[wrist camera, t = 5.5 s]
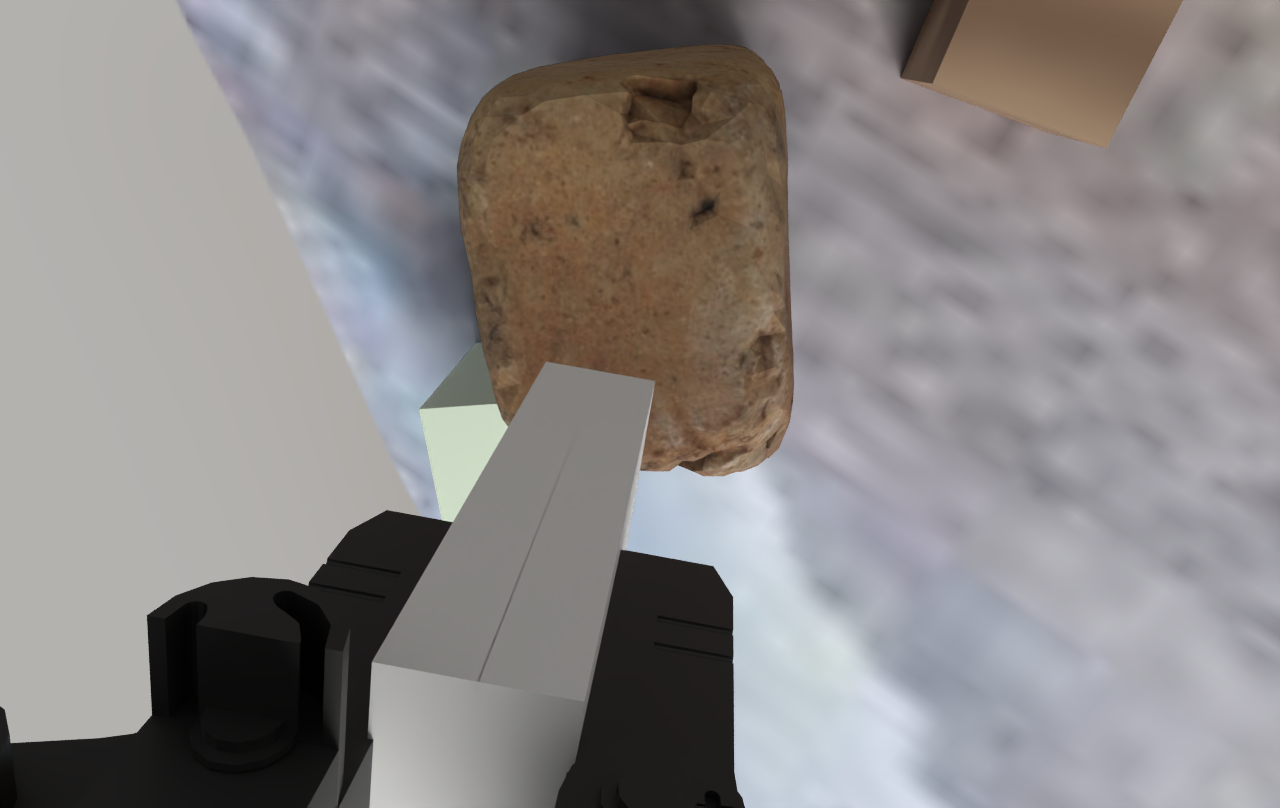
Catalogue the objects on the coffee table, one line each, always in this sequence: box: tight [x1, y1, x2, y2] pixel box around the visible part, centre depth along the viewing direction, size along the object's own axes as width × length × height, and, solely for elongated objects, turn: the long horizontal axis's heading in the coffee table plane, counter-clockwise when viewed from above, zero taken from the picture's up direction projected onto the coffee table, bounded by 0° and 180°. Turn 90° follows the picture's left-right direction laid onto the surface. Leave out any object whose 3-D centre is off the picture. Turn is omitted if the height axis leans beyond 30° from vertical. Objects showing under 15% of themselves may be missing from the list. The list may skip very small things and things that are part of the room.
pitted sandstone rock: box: [457, 44, 794, 476], centre depth 28 cm, size 11×8×20 cm
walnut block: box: [901, 0, 1183, 148], centre depth 31 cm, size 6×6×6 cm
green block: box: [419, 343, 508, 522], centre depth 37 cm, size 6×6×8 cm
